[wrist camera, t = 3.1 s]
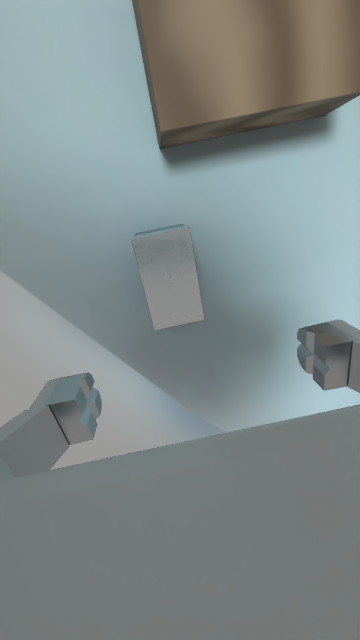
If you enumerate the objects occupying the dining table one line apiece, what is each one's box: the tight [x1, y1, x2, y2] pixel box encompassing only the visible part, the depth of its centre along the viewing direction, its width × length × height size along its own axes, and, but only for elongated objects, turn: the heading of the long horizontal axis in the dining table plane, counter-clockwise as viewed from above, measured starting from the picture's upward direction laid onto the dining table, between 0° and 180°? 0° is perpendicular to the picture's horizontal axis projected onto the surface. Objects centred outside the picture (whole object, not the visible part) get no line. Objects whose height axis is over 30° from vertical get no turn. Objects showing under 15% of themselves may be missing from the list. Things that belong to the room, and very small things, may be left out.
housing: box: [131, 224, 204, 330], centre depth 24 cm, size 5×8×6 cm, turn 11°
